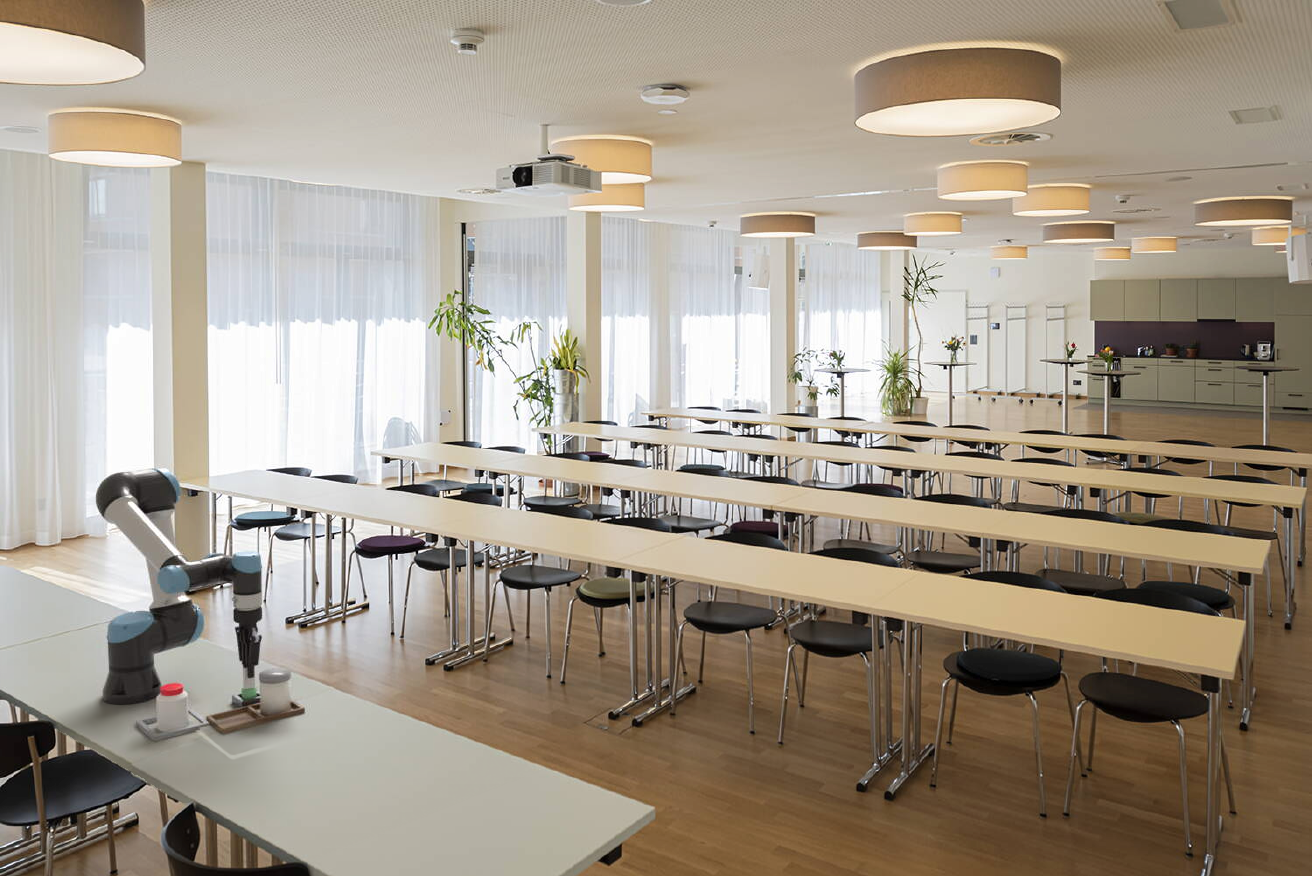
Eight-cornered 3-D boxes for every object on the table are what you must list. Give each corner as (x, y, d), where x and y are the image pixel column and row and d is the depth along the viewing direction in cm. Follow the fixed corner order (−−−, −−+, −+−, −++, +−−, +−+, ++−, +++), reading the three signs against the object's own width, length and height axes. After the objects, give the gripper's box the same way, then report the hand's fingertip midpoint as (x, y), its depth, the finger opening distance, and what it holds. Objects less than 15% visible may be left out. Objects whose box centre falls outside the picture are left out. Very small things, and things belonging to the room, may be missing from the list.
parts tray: (136, 724, 267) (136, 720, 267) (190, 711, 277) (190, 707, 277) (154, 741, 257) (153, 736, 257) (209, 727, 267) (209, 722, 267)
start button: (239, 701, 282) (239, 688, 282) (253, 698, 285) (253, 684, 285) (245, 705, 280) (244, 692, 279) (259, 702, 282) (259, 688, 282)
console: (232, 705, 283) (231, 694, 282) (256, 699, 287) (256, 689, 287) (242, 712, 278) (241, 702, 277) (266, 706, 282) (266, 696, 282)
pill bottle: (176, 733, 263) (174, 693, 261) (150, 730, 264) (149, 690, 263) (195, 722, 270) (194, 683, 269) (169, 719, 272) (168, 680, 270)
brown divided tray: (206, 723, 270) (206, 715, 269) (286, 702, 285) (286, 696, 285) (223, 736, 262) (222, 729, 261) (304, 714, 277) (304, 708, 277)
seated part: (254, 710, 277) (254, 672, 276) (283, 703, 283) (282, 666, 282) (267, 719, 271) (266, 680, 270) (296, 711, 277) (295, 673, 276)
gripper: (225, 604, 281) (226, 684, 284) (243, 614, 272) (245, 697, 275) (251, 599, 286) (253, 678, 289) (270, 609, 277) (272, 691, 280)
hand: (249, 687), depth 282 cm, fingers closed
